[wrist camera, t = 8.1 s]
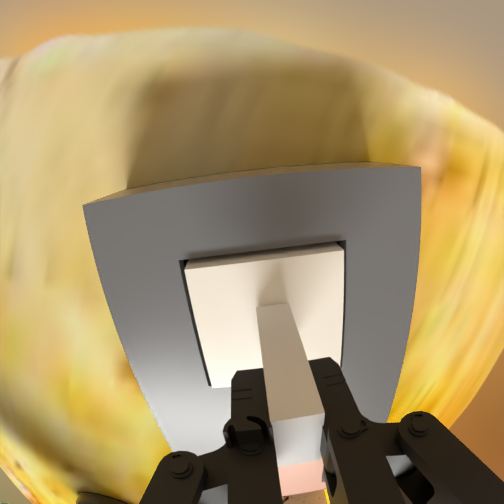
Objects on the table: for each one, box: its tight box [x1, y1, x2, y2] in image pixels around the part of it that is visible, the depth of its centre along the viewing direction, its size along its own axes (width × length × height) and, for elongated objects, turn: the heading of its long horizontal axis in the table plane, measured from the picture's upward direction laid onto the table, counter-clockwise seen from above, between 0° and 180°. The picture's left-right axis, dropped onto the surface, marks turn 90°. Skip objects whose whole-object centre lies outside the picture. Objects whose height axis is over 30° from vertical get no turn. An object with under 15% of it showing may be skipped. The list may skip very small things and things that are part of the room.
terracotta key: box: [278, 456, 327, 496], centre depth 19 cm, size 7×7×4 cm
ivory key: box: [184, 241, 344, 388], centre depth 16 cm, size 7×7×4 cm
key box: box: [83, 162, 421, 496], centre depth 19 cm, size 16×28×6 cm, turn 6°
